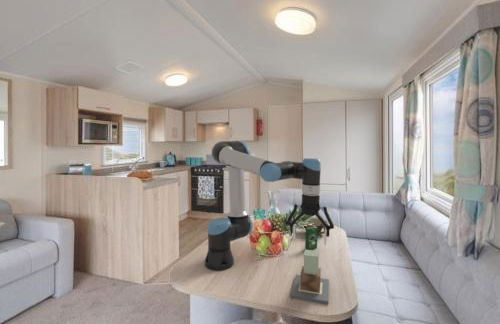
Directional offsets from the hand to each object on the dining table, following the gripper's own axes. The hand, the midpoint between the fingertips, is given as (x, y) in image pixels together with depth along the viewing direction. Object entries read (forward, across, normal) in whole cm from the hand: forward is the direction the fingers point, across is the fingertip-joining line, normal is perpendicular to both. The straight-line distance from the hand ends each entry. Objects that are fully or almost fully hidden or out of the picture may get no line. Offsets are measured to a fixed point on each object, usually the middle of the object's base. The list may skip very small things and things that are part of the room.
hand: (309, 241), depth 117 cm
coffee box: (+21, -2, +44) cm, 48 cm away
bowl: (+21, -2, +72) cm, 75 cm away
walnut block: (+19, +1, -2) cm, 19 cm away
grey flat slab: (+20, +2, -2) cm, 21 cm away
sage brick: (+12, +1, -2) cm, 12 cm away
